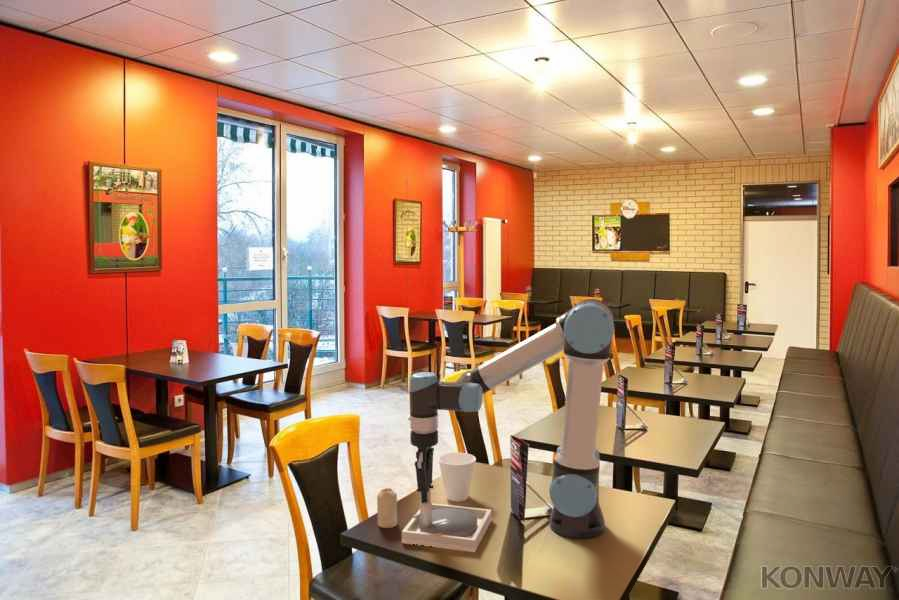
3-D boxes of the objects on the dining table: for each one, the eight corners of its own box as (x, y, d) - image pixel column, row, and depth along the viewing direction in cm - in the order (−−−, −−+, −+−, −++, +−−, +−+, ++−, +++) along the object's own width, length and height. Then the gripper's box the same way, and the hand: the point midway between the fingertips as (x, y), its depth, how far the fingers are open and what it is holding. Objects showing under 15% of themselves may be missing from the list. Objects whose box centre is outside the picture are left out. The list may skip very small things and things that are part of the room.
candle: (394, 529, 186) (393, 494, 185) (375, 527, 187) (374, 493, 186) (399, 520, 191) (398, 487, 190) (381, 519, 193) (380, 485, 192)
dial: (458, 510, 195) (458, 483, 194) (488, 531, 181) (488, 502, 181) (409, 522, 187) (409, 495, 186) (437, 545, 173) (436, 515, 173)
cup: (476, 504, 202) (476, 465, 201) (437, 504, 203) (437, 465, 201) (475, 489, 214) (475, 452, 213) (438, 489, 214) (438, 452, 213)
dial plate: (491, 520, 191) (491, 508, 191) (474, 552, 172) (474, 539, 172) (425, 512, 197) (425, 501, 196) (401, 543, 178) (401, 530, 177)
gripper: (416, 422, 188) (417, 502, 191) (404, 436, 175) (406, 521, 178) (442, 423, 187) (443, 503, 189) (432, 437, 174) (433, 524, 177)
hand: (425, 512), depth 184 cm, fingers closed
